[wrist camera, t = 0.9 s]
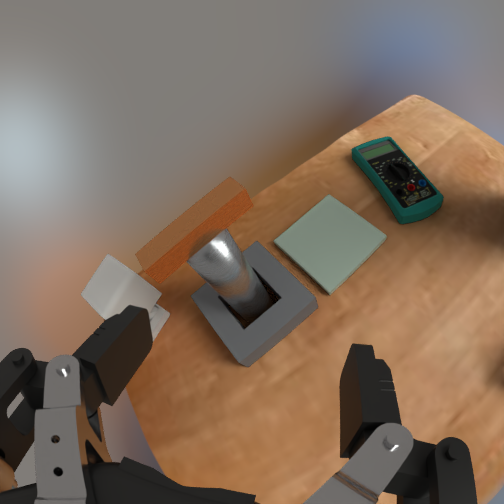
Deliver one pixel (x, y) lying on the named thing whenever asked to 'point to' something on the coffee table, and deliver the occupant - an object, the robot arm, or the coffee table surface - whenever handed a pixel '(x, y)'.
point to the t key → (210, 250)
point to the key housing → (269, 323)
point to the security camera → (123, 293)
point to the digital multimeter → (398, 180)
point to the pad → (330, 242)
